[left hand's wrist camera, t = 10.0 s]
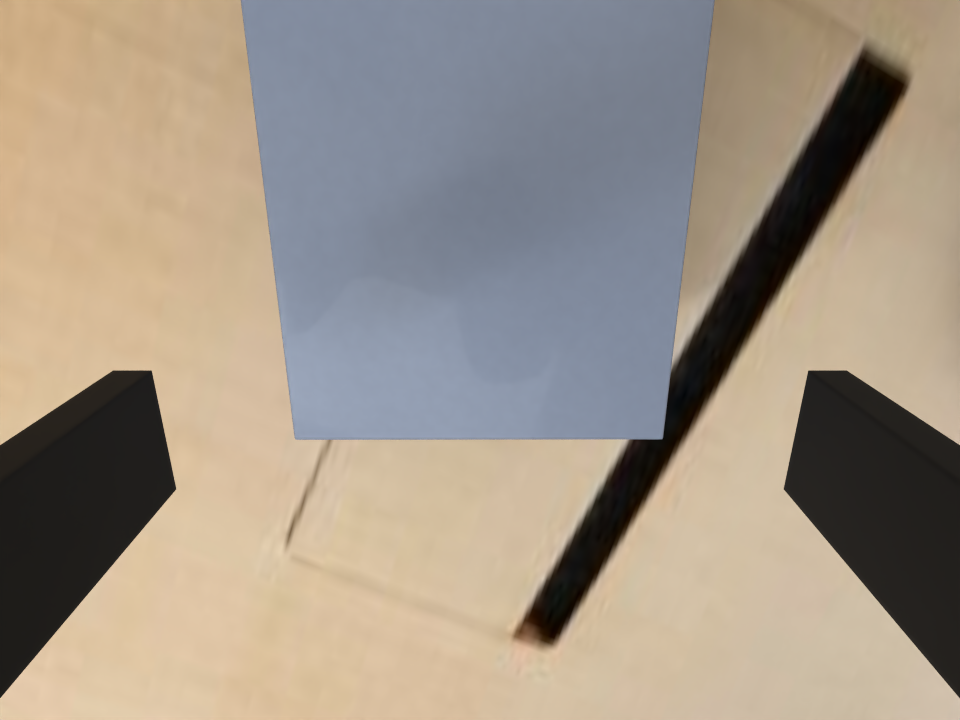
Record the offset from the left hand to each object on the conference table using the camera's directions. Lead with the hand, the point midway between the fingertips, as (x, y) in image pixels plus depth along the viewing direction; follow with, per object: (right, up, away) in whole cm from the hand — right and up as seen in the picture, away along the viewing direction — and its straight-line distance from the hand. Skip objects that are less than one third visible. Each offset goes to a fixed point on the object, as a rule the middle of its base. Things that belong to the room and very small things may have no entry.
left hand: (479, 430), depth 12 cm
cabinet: (0, +12, +12) cm, 16 cm away
